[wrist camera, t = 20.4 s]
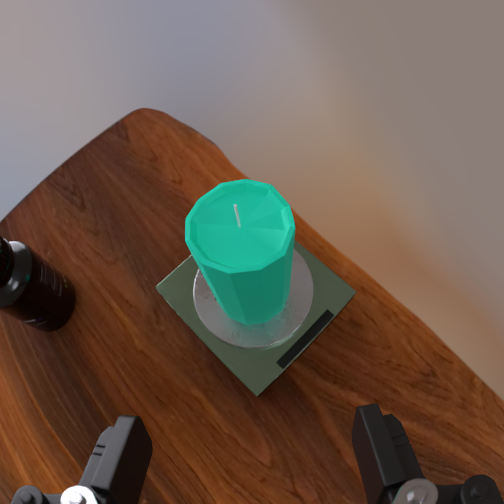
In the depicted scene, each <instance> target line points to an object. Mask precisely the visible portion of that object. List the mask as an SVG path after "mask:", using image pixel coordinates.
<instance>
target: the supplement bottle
mask: <svg viewBox="0 0 504 504" xmlns="http://www.w3.org/2000/svg"><path fill="white" fill-rule="evenodd" d="M74 306H75V291H74V288H73V285H72V283H71V282H70V281H69V279H68V278H67V277H65V276H64V275H63V274H62V273H61V272H59V271H58V270H57V269H56V268H54V267H53V266H52V265H51V264H49V263H48V262H47V261H46V260H44V259H43V258H42V257H41V256H40V255H38V254H37V253H36V252H35V251H34V250H32V249H31V248H30V247H29V246H27V245H26V244H25V243H23V242H19V241H11V242H8V241H7V240H5V239H3V238H2V237H0V311H2V312H4V313H6V314H8V315H10V316H12V317H14V318H16V319H18V320H20V321H22V322H24V323H26V324H28V325H30V326H32V327H34V328H36V329H39V330H41V331H44V332H53V331H56V330H58V329H60V328H61V327H63V326H64V325H65V324H66V323H67V321H68V320H69V319H70V317H71V315H72V313H73V310H74Z"/></svg>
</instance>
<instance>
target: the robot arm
mask: <svg viewBox="0 0 504 504" xmlns="http://www.w3.org/2000/svg"><path fill="white" fill-rule="evenodd" d="M352 442H353V447H354V451H355V455H356V458H357V462H358V466H359V470H360V474H361V477H362V481H363V485H364V489H365V493H366V497H367V501H368V504H504V502H503V500H502V497H501V495H500V493H499V490H498V488H497V486H496V483H495V482H494V480H493V479H492V478H490V477H488V476H486V475H475V476H472V477H470V478H469V479H467V480H466V481H465V483H464V484H459V485H445V486H441V485H436V484H433V483H432V482H431V481H429V480H427V479H426V478H425V477H424V475H423V473H422V471H421V468H420V466H419V464H418V461H417V459H416V456H415V454H414V452H413V449H412V447H411V444H409V440H408V437H407V435H406V434H405V431H404V428H403V426H402V424H401V422H400V421H399V420H398V419H397V418H396V417H394V416H393V415H392V414H388V415H382V413H381V410H380V408H379V406H378V404H377V403H374V404H369V405H364V406H358V407H357V408H356V412H355V418H354V424H353V430H352ZM152 450H153V447H152V441H151V438H150V436H149V434H148V432H147V430H146V428H145V426H144V424H143V421H142V419H141V418H140V417H139V416H129V415H120V416H119V417H118V419H117V421H116V424H115V426H114V427H112V426H109V427H108V428H107V429H106V430H105V431H104V432H103V433H102V434H101V435H100V437H99V439H98V441H97V443H96V447H95V448H94V450H93V452H92V453H93V454H92V455H91V457H90V459H89V461H88V464H87V466H86V468H85V470H84V473H83V475H82V477H81V480H80V482H79V484H78V485H77V486H72V487H70V488H68V489H67V490H66V491H65V492H64V493H63V494H43V493H42V492H41V491H40V490H39V489H38V488H36V487H34V486H31V485H27V486H23V487H21V488H20V489H18V490H17V492H16V493H15V495H14V497H13V500H12V502H11V504H138V502H139V498H140V495H141V491H142V487H143V484H144V480H145V477H146V473H147V470H148V466H149V463H150V459H151V456H152Z"/></svg>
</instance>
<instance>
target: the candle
mask: <svg viewBox="0 0 504 504" xmlns="http://www.w3.org/2000/svg"><path fill="white" fill-rule="evenodd" d="M294 237H295V223H294V219H293V216H292V212H291V208H290V205H289V204H288V203H287V202H286V200H285V199H284V198H283V197H282V196H281V195H280V194H279V193H278V191H277V190H276V189H275V188H274V187H273V186H272V185H270V184H266V183H262V182H258V181H254V180H249V179H243V180H237V181H231V182H226V183H220V184H219V185H218V186H216V187H215V188H213V189H212V190H211V191H209V192H208V193H206V194H205V195H204V196H202V197H201V198H199V199H198V201H197V202H196V204H195V205H194V207H193V208H192V210H191V211H190V213H189V214H188V216H187V217H186V220H185V242H186V244H187V246H188V248H189V250H190V252H191V254H192V255H193V257H194V259H195V261H196V263H197V265H198V267H199V269H200V270H201V272H202V274H203V276H204V278H205V280H206V282H207V283H208V285H209V287H210V289H211V291H212V293H213V294H214V296H215V298H216V300H217V302H218V303H219V305H220V306H221V307H222V309H223V310H224V311H225V313H226V314H227V315H228V316H229V318H231V319H234V320H236V321H239V322H241V323H244V324H246V325H250V324H257V323H264V322H268V321H269V320H270V319H272V318H273V317H274V316H276V315H277V314H278V313H279V312H281V311H282V310H283V307H284V305H285V302H286V300H287V297H288V295H289V290H290V280H291V270H292V259H293V249H294Z"/></svg>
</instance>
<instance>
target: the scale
mask: <svg viewBox="0 0 504 504" xmlns="http://www.w3.org/2000/svg"><path fill="white" fill-rule="evenodd" d="M155 288H156V290H157V291H158V292H159V293H160V294H161V295H162V297H163V298H164V299H165V300H166V301H167V302H168V304H169V305H170V306H171V307H172V308H173V309H174V310H175V311H176V313H177V314H178V315H179V316H180V317H181V318H182V319H183V320H184V322H185V323H186V324H187V325H188V326H189V327H190V328H191V329H192V330H193V332H194V333H195V334H196V335H197V336H198V337H199V338H200V339H201V340H202V341H203V342H204V343H205V344H206V346H207V347H208V348H209V349H210V350H211V351H212V352H213V353H214V354H215V355H216V356H217V357H218V358H219V359H220V360H221V361H222V362H223V363H224V364H225V365H226V366H227V367H228V368H229V369H230V370H231V372H232V373H233V374H234V375H235V376H236V377H237V378H238V379H239V380H240V381H241V382H242V383H243V384H244V385H245V386H247V387H248V388H249V389H250V390H251V391H252V392H253V393H254V394H255V395H256V396H257V397H259V396H260V395H261V394H262V393H263V392H264V391H265V390H266V389H268V388H269V387H270V386H271V385H272V384H273V383H274V382H275V381H276V380H277V379H278V378H279V377H280V376H281V375H282V374H283V373H284V372H285V371H286V370H287V369H288V368H289V367H290V366H291V365H292V364H293V363H294V362H295V361H296V360H297V359H298V358H299V357H300V356H301V355H302V354H303V353H304V352H305V350H306V349H307V348H308V347H309V346H310V345H311V344H312V343H313V342H314V341H315V340H316V339H317V338H318V337H319V336H320V335H321V334H322V332H323V331H324V330H325V329H326V328H327V327H328V326H329V325H330V324H331V323H332V322H333V320H334V319H335V318H336V317H337V316H338V315H339V314H340V313H341V312H342V310H343V309H344V308H345V307H346V306H347V305H348V304H349V302H350V301H351V300H352V298H353V297H354V295H355V294H356V291H355V290H354V289H353V288H352V287H350V286H349V285H348V284H347V283H346V282H344V281H343V280H342V279H341V278H340V277H339V276H337V275H336V274H335V273H334V272H333V271H331V270H330V269H329V268H328V267H327V266H326V265H324V264H323V263H322V262H321V261H320V260H318V259H317V258H316V257H315V256H314V255H312V254H311V253H310V252H309V251H307V250H306V249H305V248H304V247H303V246H301V245H300V244H299V243H298V242H297V241H295V240H294V249H293V259H292V270H291V280H290V290H289V295H288V297H287V300H286V302H285V305H284V307H283V310H282V311H281V312H279V313H278V314H277V315H276V316H274V317H273V318H272V319H270V320H269V321H268V322H264V323H257V324H250V325H246V324H244V323H241V322H239V321H236V320H234V319H231V318H229V316H228V315H227V314H226V313H225V311H224V310H223V309H222V307H221V306H220V305H219V303H218V302H217V300H216V298H215V296H214V294H213V293H212V291H211V289H210V287H209V285H208V283H207V282H206V280H205V278H204V276H203V274H202V272H201V270H200V269H199V267H198V265H197V263H196V261H195V259H194V257H193V255H191V256H190V257H189V258H187V259H186V260H185V261H184V262H183V263H182V264H181V265H179V266H178V267H177V268H176V269H175V270H174V271H173V272H172V273H170V274H169V275H168V276H167V277H166V278H165V279H164V280H163V281H161V282H160V283H159V284H158V285H157V286H156V287H155Z"/></svg>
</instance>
